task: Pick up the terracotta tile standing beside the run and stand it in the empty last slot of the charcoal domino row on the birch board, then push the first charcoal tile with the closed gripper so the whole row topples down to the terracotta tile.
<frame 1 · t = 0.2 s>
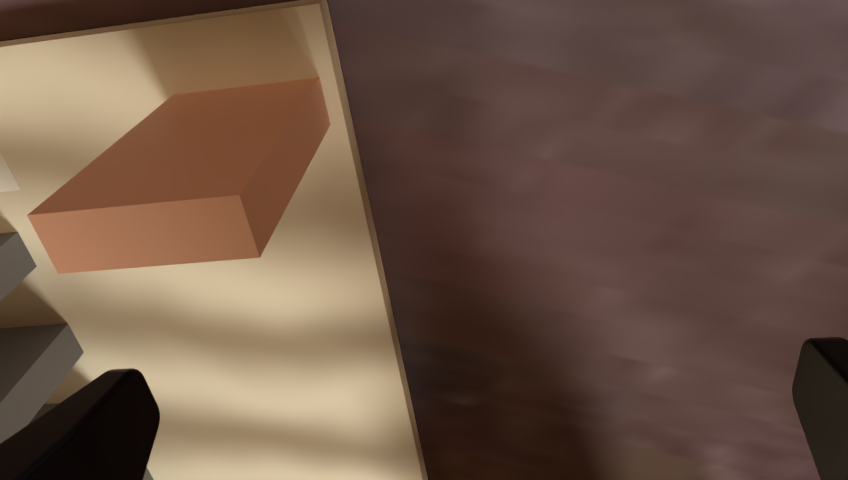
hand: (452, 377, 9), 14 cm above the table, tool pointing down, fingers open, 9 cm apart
domino board: (141, 319, 28), on the table
domino 3: (23, 341, 28), point 1 cm above the table, touching domino board
end tile: (252, 109, 21), point 1 cm above the table, touching domino board
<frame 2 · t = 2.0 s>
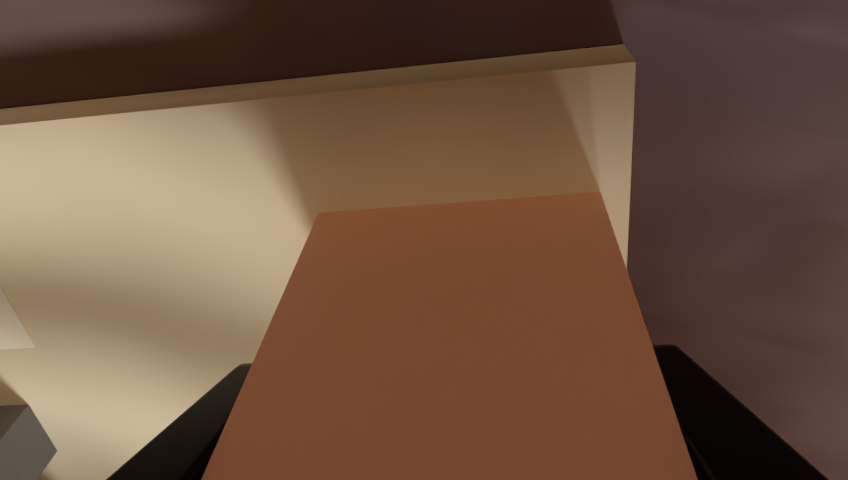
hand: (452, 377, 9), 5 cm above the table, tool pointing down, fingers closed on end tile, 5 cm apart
end tile: (459, 240, 12), point 1 cm above the table, touching domino board, gripper
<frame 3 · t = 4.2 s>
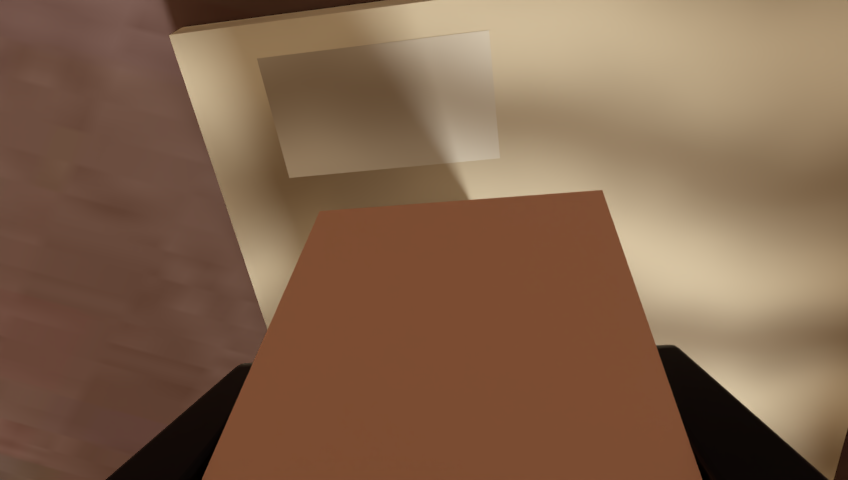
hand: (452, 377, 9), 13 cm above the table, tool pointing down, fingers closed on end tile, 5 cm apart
domino board: (553, 311, 25), on the table
end tile: (461, 239, 12), point 10 cm above the table, touching gripper
when the fingers open (5 cm above the table, at t = 6.7 s): end tile stays where it is, resting on domino board.
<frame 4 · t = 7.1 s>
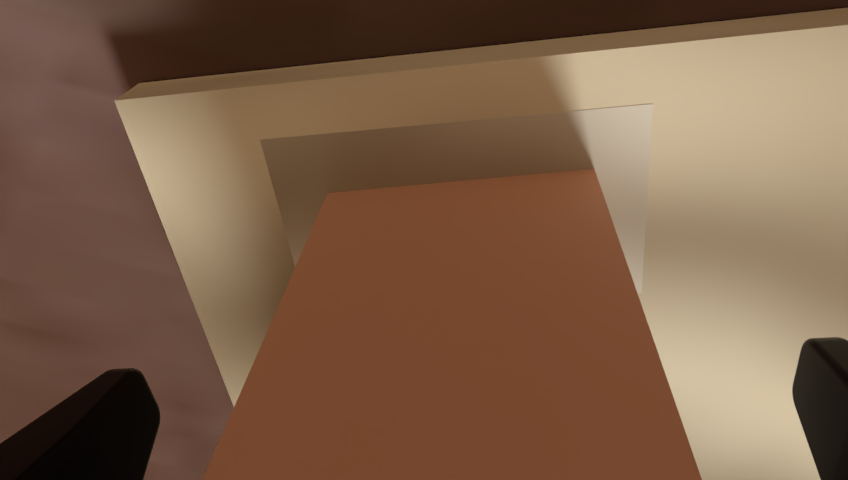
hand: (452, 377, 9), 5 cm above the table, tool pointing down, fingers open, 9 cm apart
domino board: (678, 476, 17), on the table
end tile: (461, 218, 12), point 1 cm above the table, touching domino board
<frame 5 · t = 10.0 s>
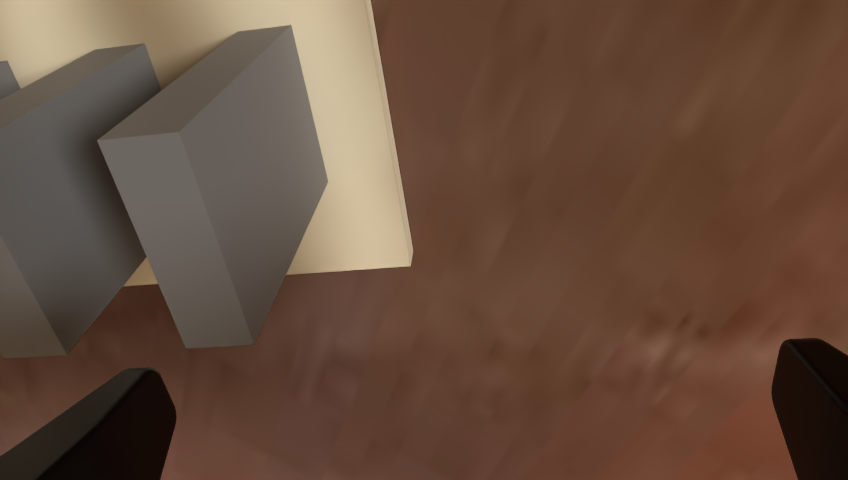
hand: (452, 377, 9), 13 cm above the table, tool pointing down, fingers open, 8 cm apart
domino 1: (285, 111, 20), point 1 cm above the table, touching domino board
domino 2: (149, 125, 20), point 1 cm above the table, touching domino board
domino 3: (21, 139, 21), point 1 cm above the table, touching domino board
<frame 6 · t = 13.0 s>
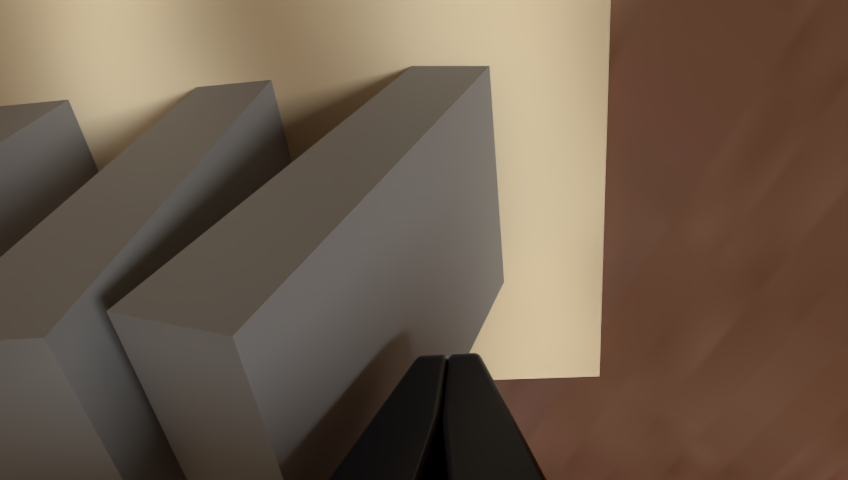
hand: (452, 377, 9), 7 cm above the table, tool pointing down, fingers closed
domino 1: (461, 181, 14), point 1 cm above the table, tilted 18°, touching domino board
domino 2: (264, 191, 14), point 1 cm above the table, touching domino board
domino 3: (80, 205, 15), point 1 cm above the table, touching domino board
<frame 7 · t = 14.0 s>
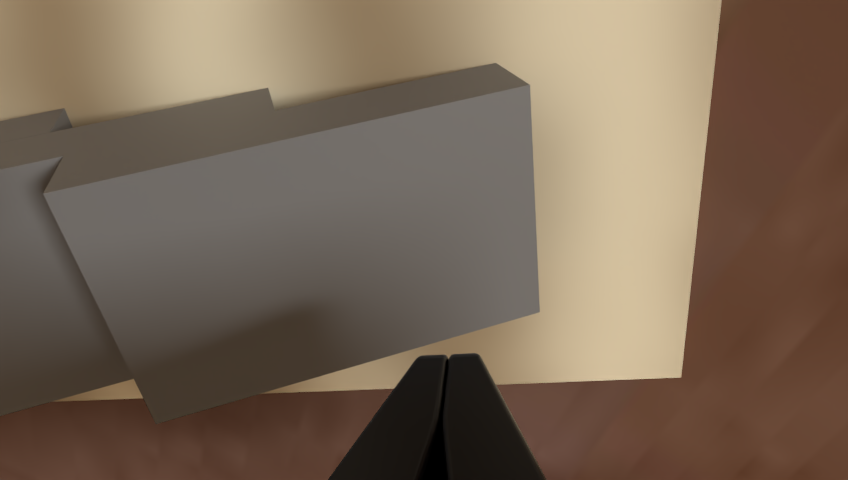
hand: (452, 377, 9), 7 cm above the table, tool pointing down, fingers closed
domino 1: (518, 193, 13), point 2 cm above the table, tilted 69°, touching domino 2, domino board
domino 2: (300, 211, 14), point 2 cm above the table, tilted 69°, touching domino 1, domino 3, domino board
domino 3: (104, 225, 14), point 2 cm above the table, tilted 69°, touching domino 2, domino 4, domino board
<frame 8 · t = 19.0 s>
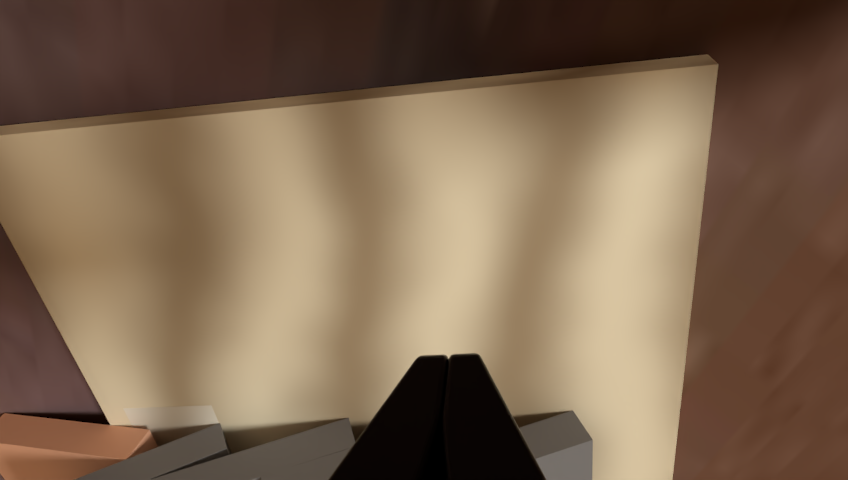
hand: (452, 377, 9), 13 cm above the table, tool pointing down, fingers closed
domino 1: (582, 467, 26), point 2 cm above the table, tilted 69°, touching domino 2, domino board
domino board: (371, 354, 26), on the table
domino 2: (468, 470, 27), point 2 cm above the table, tilted 69°, touching domino 1, domino 3, domino board
domino 4: (238, 475, 28), point 2 cm above the table, tilted 60°, touching domino 3, domino board, end tile
domino 3: (362, 472, 27), point 2 cm above the table, tilted 69°, touching domino 2, domino 4, domino board
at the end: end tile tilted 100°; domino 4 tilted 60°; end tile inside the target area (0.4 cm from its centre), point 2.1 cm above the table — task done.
